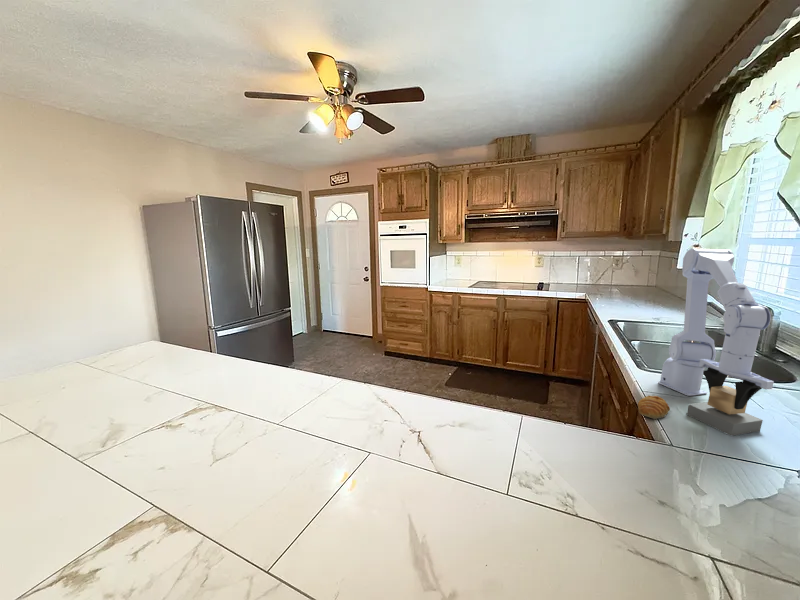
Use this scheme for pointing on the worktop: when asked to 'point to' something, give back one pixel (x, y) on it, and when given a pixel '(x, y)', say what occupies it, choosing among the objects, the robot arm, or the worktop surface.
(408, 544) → the worktop surface
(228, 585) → the worktop surface
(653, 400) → the pastry
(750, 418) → the gray block
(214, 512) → the worktop surface
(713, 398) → the oak block
